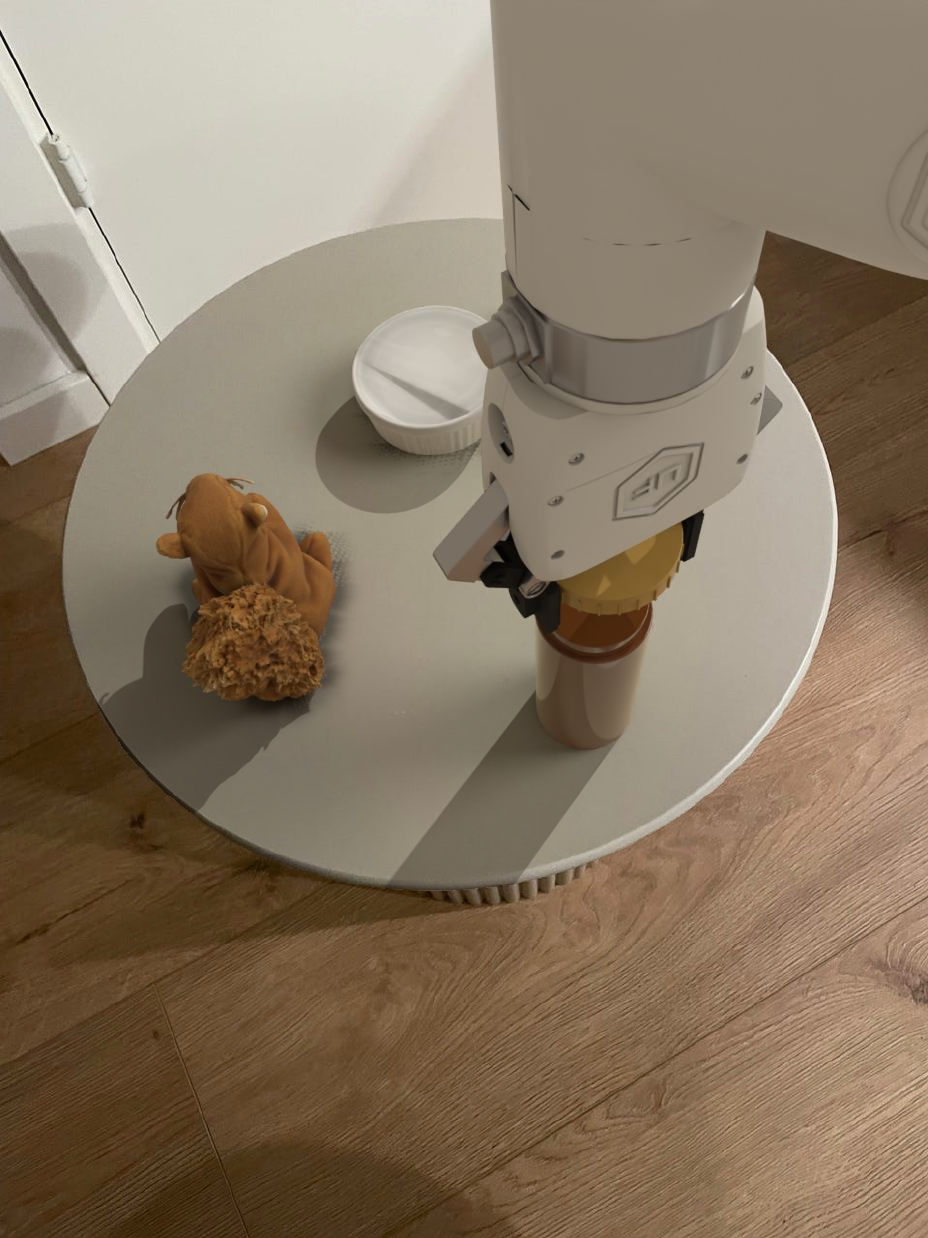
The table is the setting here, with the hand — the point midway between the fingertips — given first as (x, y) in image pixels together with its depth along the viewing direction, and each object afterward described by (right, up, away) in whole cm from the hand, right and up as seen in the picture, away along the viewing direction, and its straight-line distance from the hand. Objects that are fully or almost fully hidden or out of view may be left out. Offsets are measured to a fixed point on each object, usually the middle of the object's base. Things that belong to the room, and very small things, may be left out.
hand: (604, 570), depth 47 cm
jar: (+1, -8, +16) cm, 18 cm away
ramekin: (-9, +13, +28) cm, 32 cm away
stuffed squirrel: (-19, -3, +20) cm, 28 cm away
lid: (0, +1, -3) cm, 3 cm away
